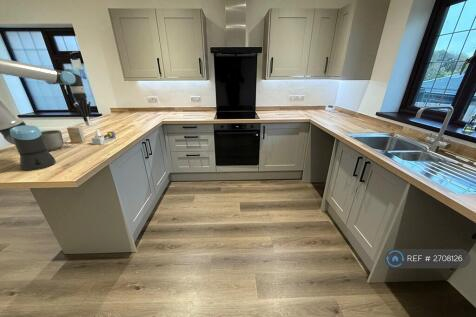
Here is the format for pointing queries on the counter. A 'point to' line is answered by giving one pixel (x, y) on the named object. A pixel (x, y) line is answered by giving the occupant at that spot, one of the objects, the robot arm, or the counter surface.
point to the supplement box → (76, 134)
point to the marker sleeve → (99, 135)
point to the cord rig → (99, 140)
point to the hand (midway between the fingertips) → (88, 125)
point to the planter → (52, 139)
